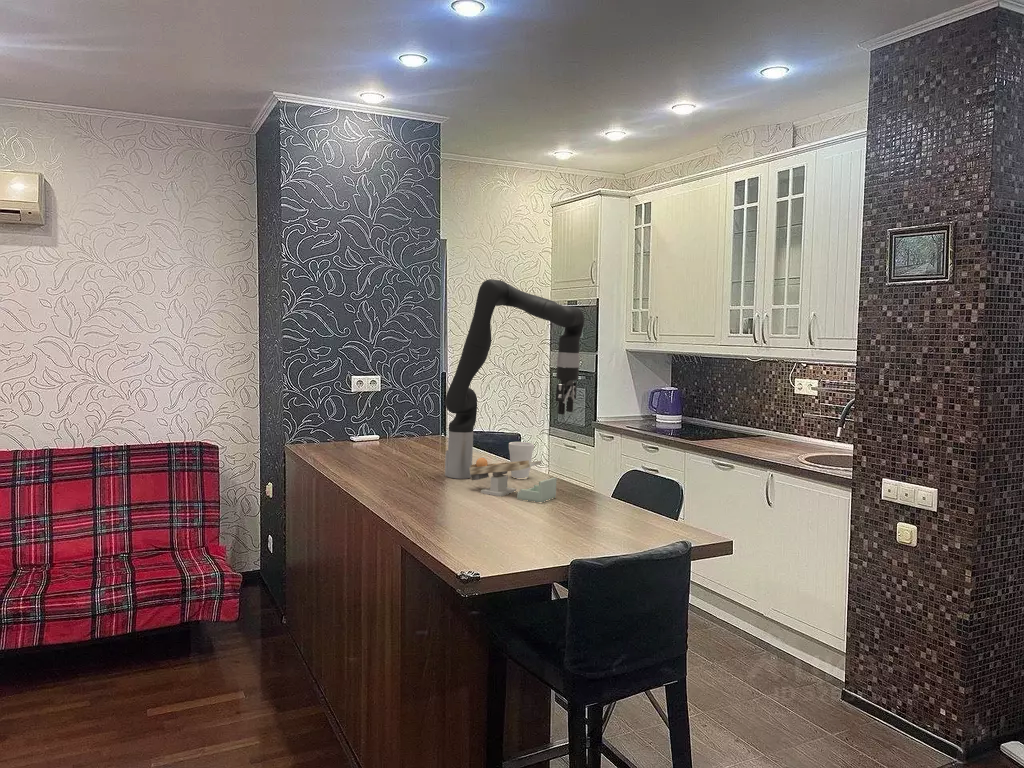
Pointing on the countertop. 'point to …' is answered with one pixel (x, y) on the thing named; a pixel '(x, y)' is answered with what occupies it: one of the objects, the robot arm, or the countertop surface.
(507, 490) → the lever stand
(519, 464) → the board
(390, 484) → the countertop surface
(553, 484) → the bin
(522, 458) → the foam cup
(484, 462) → the ball
